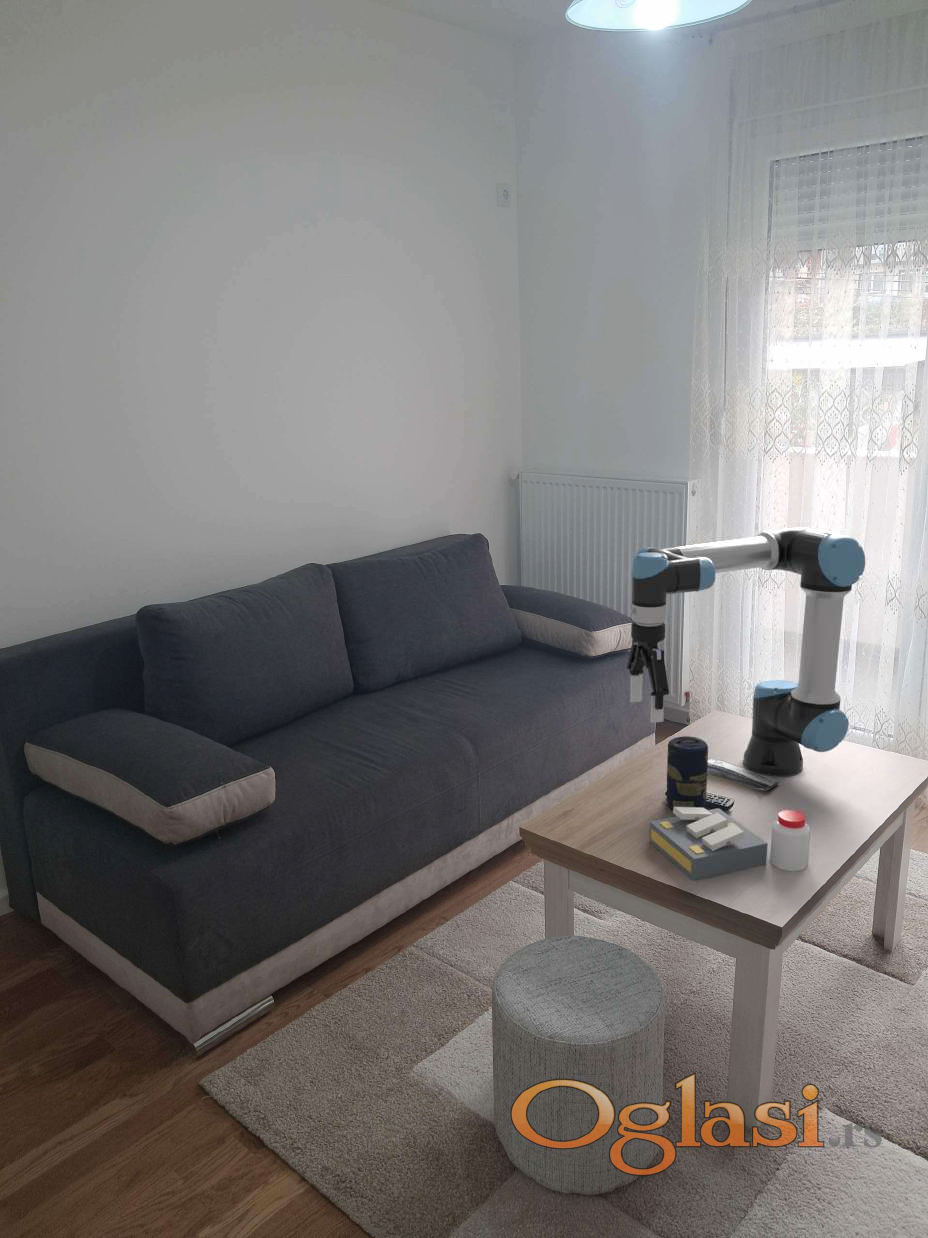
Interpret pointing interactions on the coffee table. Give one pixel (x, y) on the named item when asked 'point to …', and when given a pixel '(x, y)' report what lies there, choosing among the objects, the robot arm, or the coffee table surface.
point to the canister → (687, 772)
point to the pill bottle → (790, 841)
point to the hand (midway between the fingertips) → (646, 711)
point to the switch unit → (706, 848)
